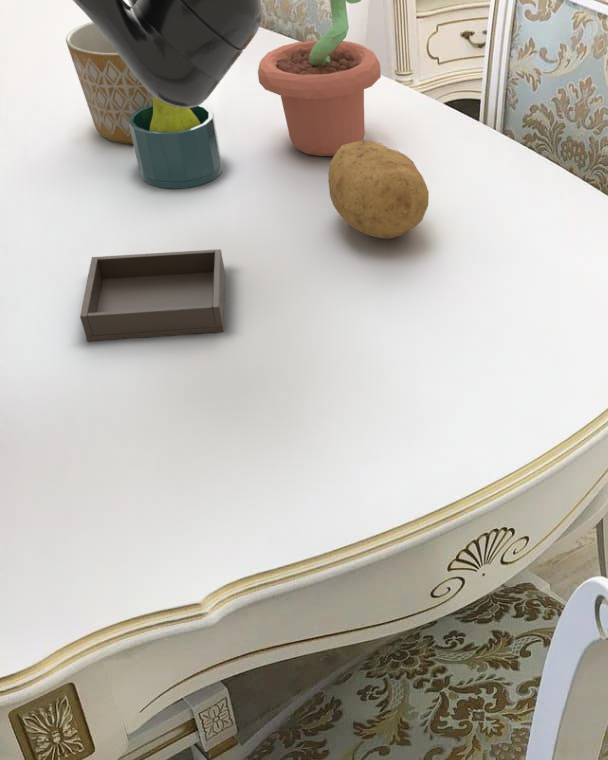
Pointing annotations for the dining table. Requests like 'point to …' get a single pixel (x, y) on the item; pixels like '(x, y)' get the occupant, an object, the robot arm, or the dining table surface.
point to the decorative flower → (322, 86)
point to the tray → (154, 295)
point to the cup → (176, 150)
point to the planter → (106, 82)
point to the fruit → (171, 118)
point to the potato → (377, 189)
